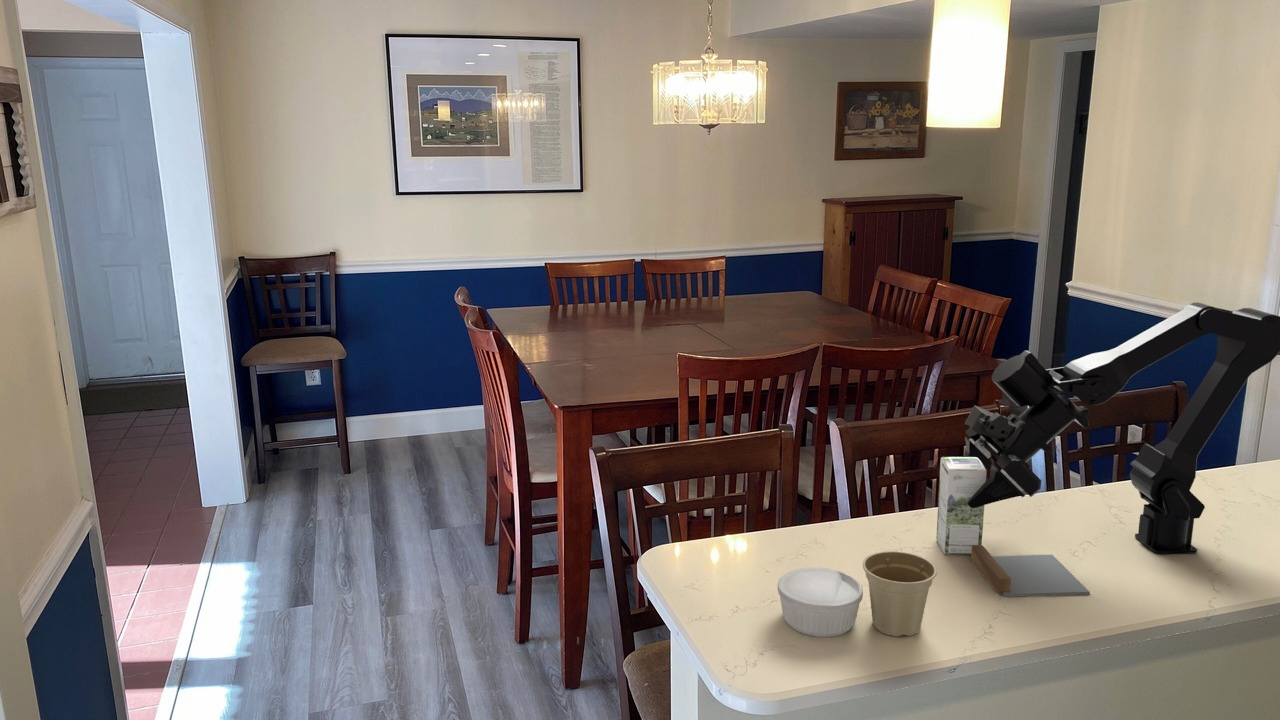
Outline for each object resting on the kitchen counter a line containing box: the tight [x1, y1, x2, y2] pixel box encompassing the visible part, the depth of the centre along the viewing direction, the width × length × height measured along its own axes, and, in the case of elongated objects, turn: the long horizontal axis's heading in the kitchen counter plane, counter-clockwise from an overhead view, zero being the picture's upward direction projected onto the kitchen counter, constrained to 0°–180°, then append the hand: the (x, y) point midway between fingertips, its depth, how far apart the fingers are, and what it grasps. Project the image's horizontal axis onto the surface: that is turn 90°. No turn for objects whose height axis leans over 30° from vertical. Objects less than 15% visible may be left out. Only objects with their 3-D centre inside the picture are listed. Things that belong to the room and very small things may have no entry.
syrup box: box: [935, 456, 988, 556], centre depth 142 cm, size 6×6×14 cm
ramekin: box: [777, 566, 864, 638], centre depth 123 cm, size 11×11×5 cm
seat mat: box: [991, 554, 1091, 598], centre depth 134 cm, size 12×12×1 cm
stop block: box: [970, 544, 1011, 596], centre depth 134 cm, size 2×11×2 cm, turn 0°
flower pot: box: [862, 550, 938, 637], centre depth 121 cm, size 9×9×9 cm
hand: (959, 494), depth 142 cm, fingers open, 9 cm apart
